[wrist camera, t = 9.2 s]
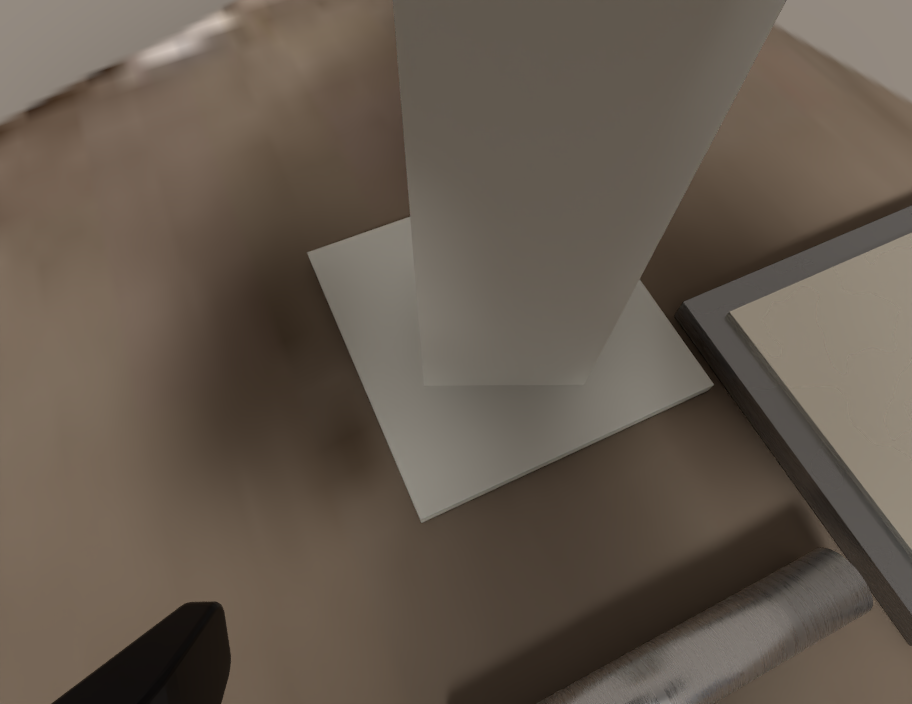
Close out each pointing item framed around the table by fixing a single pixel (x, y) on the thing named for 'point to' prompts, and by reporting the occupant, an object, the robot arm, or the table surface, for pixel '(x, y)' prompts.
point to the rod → (732, 638)
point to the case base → (831, 387)
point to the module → (552, 165)
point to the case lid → (486, 406)
